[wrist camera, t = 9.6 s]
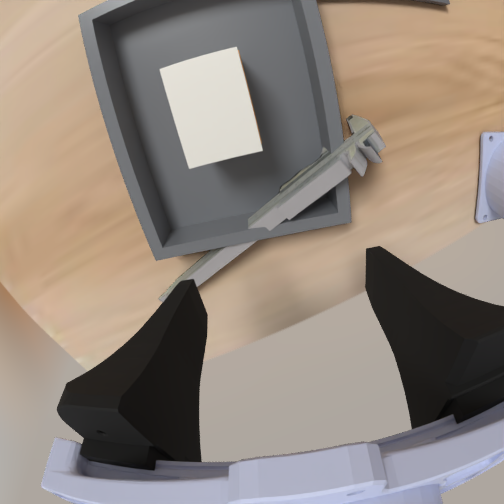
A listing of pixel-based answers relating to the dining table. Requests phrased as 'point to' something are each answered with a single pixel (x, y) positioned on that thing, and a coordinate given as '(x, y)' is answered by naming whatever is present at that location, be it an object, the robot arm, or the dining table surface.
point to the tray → (264, 103)
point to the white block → (212, 107)
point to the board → (435, 1)
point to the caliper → (298, 194)
